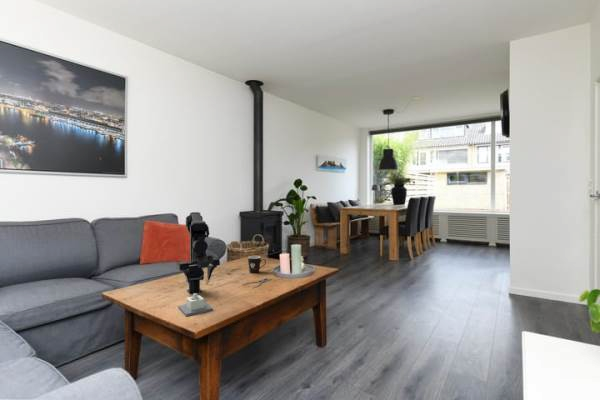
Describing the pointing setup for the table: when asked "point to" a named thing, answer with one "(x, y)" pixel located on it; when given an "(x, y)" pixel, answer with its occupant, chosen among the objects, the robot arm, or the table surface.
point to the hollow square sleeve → (195, 303)
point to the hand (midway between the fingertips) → (198, 281)
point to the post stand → (188, 312)
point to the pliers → (259, 281)
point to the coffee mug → (254, 264)
